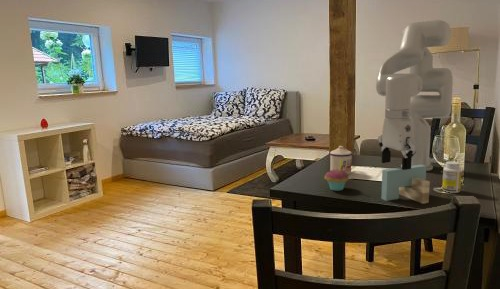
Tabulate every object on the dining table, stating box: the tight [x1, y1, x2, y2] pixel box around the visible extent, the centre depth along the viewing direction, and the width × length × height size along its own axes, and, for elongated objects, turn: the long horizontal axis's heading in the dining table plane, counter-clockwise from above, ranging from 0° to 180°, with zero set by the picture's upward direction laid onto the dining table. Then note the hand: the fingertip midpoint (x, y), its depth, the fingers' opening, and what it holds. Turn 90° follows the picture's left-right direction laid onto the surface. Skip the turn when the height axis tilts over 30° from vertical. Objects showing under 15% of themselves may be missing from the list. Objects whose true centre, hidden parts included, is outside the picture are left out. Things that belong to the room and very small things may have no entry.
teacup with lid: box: [329, 145, 353, 176], centre depth 157 cm, size 12×9×12 cm
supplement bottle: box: [441, 160, 462, 194], centre depth 128 cm, size 6×6×10 cm
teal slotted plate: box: [380, 165, 427, 202], centre depth 124 cm, size 16×2×10 cm, turn 109°
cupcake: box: [324, 157, 349, 191], centre depth 135 cm, size 9×8×12 cm
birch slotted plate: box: [399, 178, 431, 205], centre depth 125 cm, size 16×2×7 cm, turn 19°
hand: (395, 165), depth 122 cm, fingers open, 9 cm apart
